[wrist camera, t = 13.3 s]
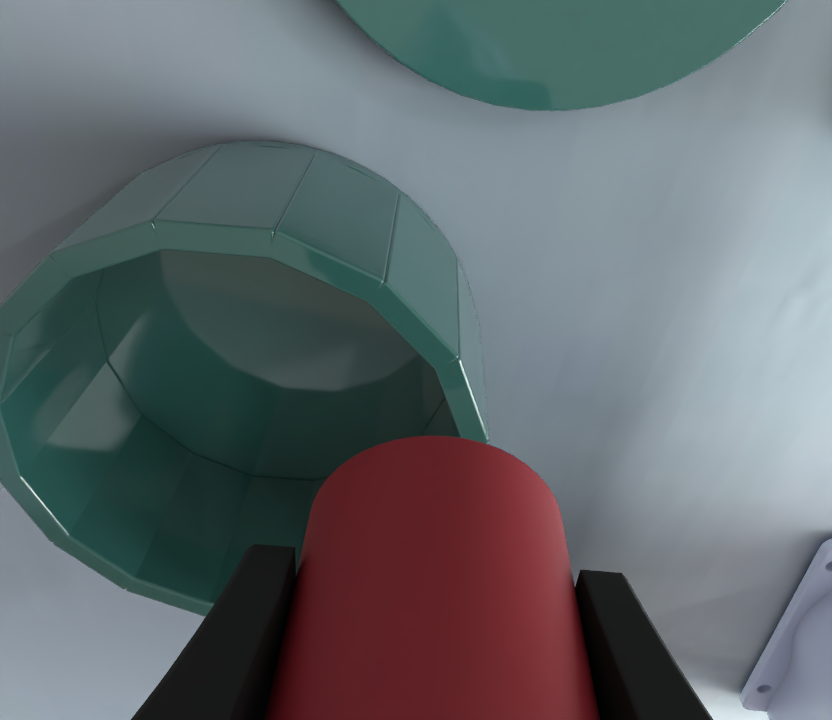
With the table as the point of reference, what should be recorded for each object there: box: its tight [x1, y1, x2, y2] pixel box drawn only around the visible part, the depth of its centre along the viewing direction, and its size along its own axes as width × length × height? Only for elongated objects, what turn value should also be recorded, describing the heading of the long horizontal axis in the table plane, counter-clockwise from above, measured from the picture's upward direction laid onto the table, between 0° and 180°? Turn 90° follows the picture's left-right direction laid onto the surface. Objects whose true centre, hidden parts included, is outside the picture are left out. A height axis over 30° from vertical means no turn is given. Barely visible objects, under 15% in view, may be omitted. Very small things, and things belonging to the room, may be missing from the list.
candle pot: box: [0, 141, 489, 616], centre depth 18 cm, size 11×11×6 cm
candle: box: [264, 435, 600, 720], centre depth 9 cm, size 4×4×6 cm
